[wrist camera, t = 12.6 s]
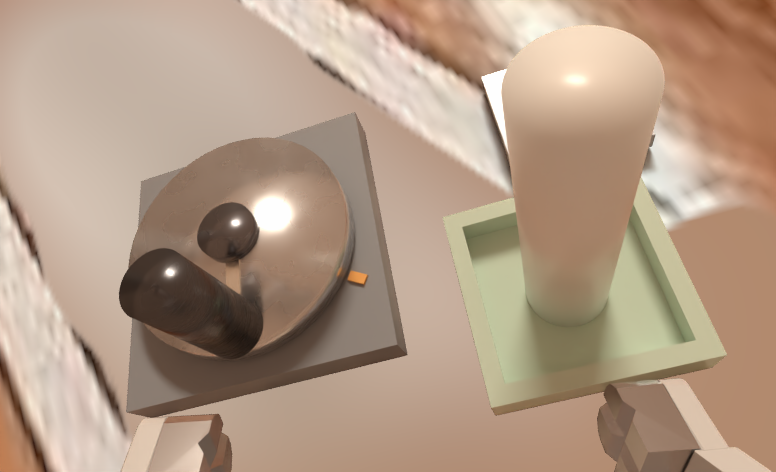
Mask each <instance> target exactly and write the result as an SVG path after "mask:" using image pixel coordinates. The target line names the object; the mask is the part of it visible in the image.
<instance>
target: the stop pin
mask: <svg viewBox="0 0 776 472" xmlns="http://www.w3.org/2000/svg"><path fill="white" fill-rule="evenodd" d="M664 86H665V77H664V71H663V67H662V64H661V62H660V60H659V58H658V57H657V55H656V54H655V52H654V51H653V50H652V49H651V48H650V47H649V46H648V45H647V44H646V43H645V42H643V41H642V40H641V39H639V38H637V37H636V36H634V35H632V34H630V33H627V32H625V31H622V30H619V29H616V28H611V27H606V26H597V25H583V26H573V27H568V28H563V29H560V30H556V31H553V32H551V33H548V34H545V35H543V36H541V37H539V38H537V39H536V40H534V41H533V42H531V43H529V44H528V45H527V46H526V47H524V48H523V49H522V50H521V51H520V52H519V53H518V54H517V55H516V56H515V57H514V59H513V60H512V61H511V62H510V64H509V66H508V67H507V69H506V72H505V74H504V77H503V81H502V86H501V97H502V106H503V114H504V121H505V129H506V137H507V145H508V153H509V161H510V169H511V177H512V185H513V193H514V201H515V209H516V217H517V225H518V233H519V241H520V249H521V257H522V265H523V273H524V281H525V289H526V296H527V299H528V302H529V304H530V306H531V308H532V309H533V310H534V312H535V313H536V314H537V315H538V316H539V317H541V318H542V319H543V320H545V321H547V322H549V323H551V324H554V325H557V326H562V327H576V326H580V325H584V324H586V323H588V322H590V321H592V320H593V319H595V318H596V317H597V316H598V315H599V314H600V313H601V312H602V310H603V309H604V307H605V305H606V302H607V299H608V295H609V292H610V288H611V284H612V281H613V277H614V273H615V270H616V266H617V262H618V258H619V255H620V251H621V247H622V244H623V240H624V236H625V233H626V229H627V225H628V222H629V218H630V214H631V210H632V207H633V203H634V199H635V196H636V192H637V188H638V185H639V181H640V177H641V174H642V170H643V166H644V162H645V159H646V155H647V151H648V148H649V144H650V140H651V137H652V133H653V129H654V126H655V122H656V118H657V114H658V111H659V107H660V103H661V100H662V96H663V92H664Z"/></svg>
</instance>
